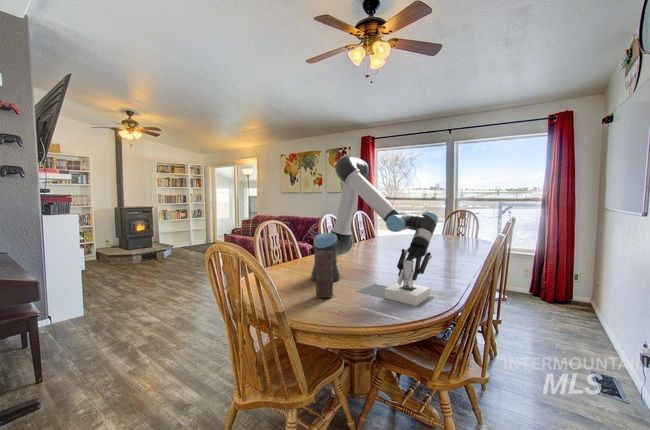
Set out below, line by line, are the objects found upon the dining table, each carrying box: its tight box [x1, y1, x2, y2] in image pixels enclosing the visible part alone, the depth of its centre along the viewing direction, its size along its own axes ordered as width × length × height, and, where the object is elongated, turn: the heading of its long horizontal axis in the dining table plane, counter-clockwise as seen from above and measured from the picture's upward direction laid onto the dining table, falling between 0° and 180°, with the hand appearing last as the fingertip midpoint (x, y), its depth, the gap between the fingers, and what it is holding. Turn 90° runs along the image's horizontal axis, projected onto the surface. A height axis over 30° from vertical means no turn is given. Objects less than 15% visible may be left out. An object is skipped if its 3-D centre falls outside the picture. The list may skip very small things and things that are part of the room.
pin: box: [402, 259, 414, 291], centre depth 129 cm, size 4×4×14 cm
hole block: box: [385, 281, 431, 306], centre depth 129 cm, size 14×14×4 cm
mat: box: [356, 283, 436, 309], centre depth 133 cm, size 30×16×1 cm, turn 50°
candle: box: [315, 251, 334, 299], centre depth 130 cm, size 8×7×20 cm
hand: (403, 284), depth 126 cm, fingers closed on pin, 4 cm apart
